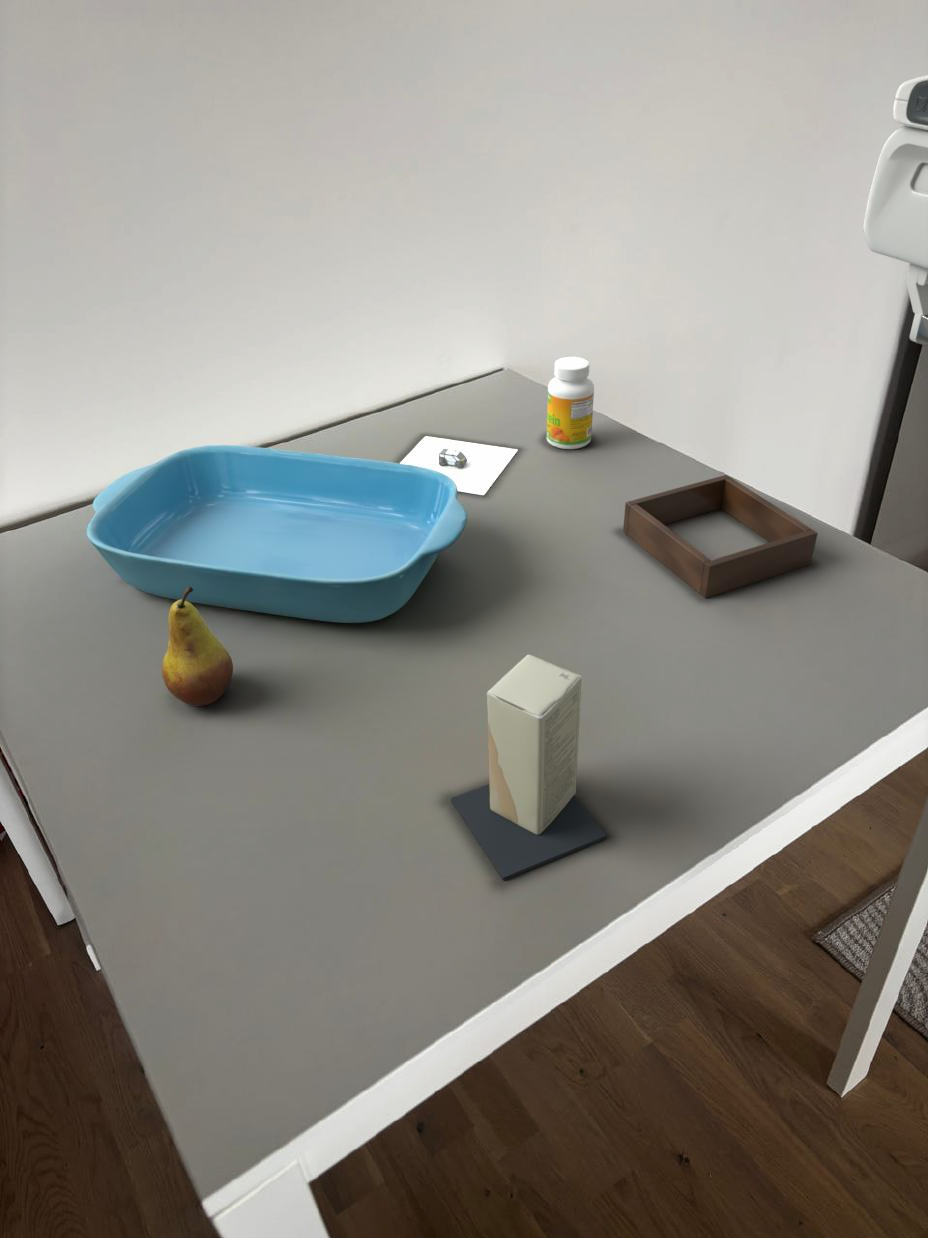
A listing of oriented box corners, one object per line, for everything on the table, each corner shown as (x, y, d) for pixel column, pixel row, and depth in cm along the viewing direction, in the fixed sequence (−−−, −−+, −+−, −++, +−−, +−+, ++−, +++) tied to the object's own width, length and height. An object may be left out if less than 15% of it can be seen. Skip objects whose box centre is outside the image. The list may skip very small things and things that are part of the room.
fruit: (244, 672, 82) (220, 551, 75) (230, 717, 77) (203, 593, 70) (178, 673, 82) (148, 552, 75) (160, 718, 77) (127, 593, 70)
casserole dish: (56, 601, 91) (34, 535, 87) (177, 491, 109) (164, 432, 104) (427, 663, 82) (423, 593, 78) (495, 532, 100) (494, 470, 96)
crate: (811, 564, 94) (818, 532, 92) (705, 598, 89) (709, 566, 87) (721, 503, 104) (726, 474, 102) (622, 532, 99) (625, 501, 97)
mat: (606, 838, 66) (606, 835, 66) (503, 880, 64) (503, 878, 63) (547, 764, 72) (548, 761, 72) (450, 801, 69) (450, 798, 69)
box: (528, 769, 71) (530, 649, 65) (578, 794, 69) (586, 673, 63) (486, 812, 68) (484, 690, 62) (537, 839, 66) (541, 717, 59)
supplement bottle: (538, 436, 118) (540, 358, 113) (577, 427, 120) (581, 351, 114) (559, 453, 114) (562, 374, 109) (599, 444, 116) (604, 366, 110)
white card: (483, 495, 106) (483, 483, 105) (384, 479, 110) (383, 467, 109) (518, 449, 115) (518, 437, 114) (425, 436, 119) (424, 424, 118)
